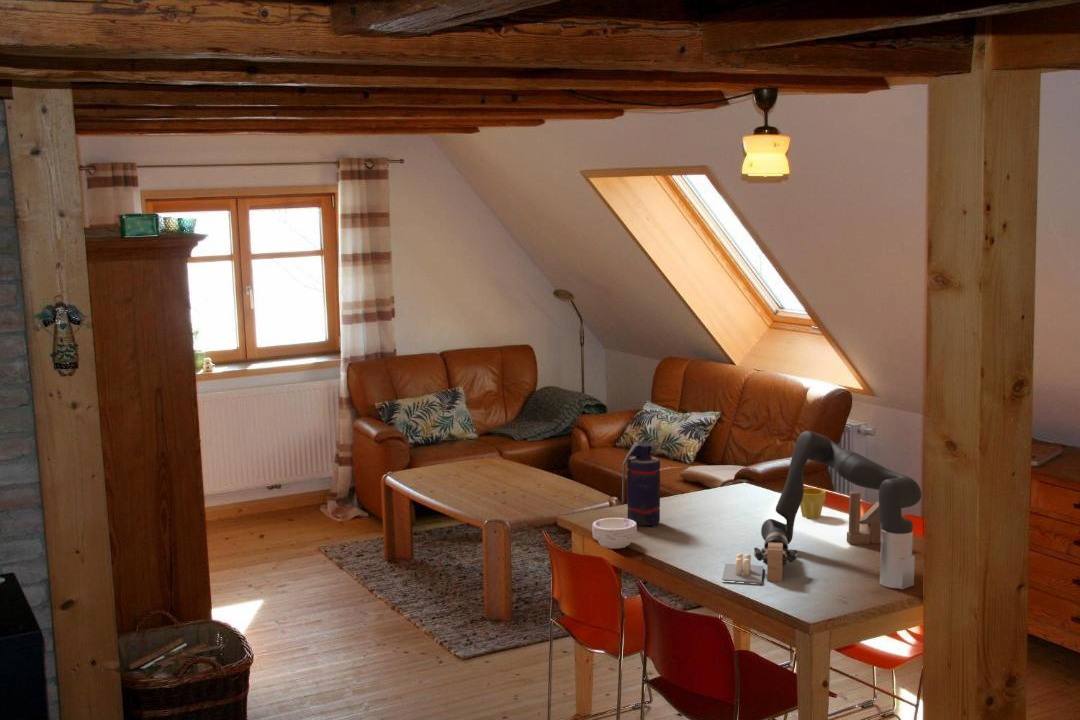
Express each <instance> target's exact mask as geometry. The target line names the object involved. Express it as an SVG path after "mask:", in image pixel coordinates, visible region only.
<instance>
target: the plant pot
mask: <svg viewBox="0 0 1080 720" xmlns="http://www.w3.org/2000/svg"><path fill="white" fill-rule="evenodd" d="M826 496H827V495H826V490H824V489H822V488H816V487H804V494H803V499H802V502H801V504H800V506H799V509H800V512H801V516H802V517H803V518H805V517H806V518H805V519H811V518H814V519H819V518H820V517H821V514H822V510H823V506H824V502H825V501H826Z"/></svg>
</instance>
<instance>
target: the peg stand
mask: <svg viewBox="0 0 1080 720" xmlns="http://www.w3.org/2000/svg"><path fill="white" fill-rule="evenodd" d="M751 559H752V558H751V554H749V553H745V554H743V553H736V557H735V563H724V567H723V568H724V569H723V573H722V578H721V581H722V580H724V581H735V582H744V583H756V584H761V585H762V584H763V583H762V581H763V574H764V565H755V564H751Z"/></svg>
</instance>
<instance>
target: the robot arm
mask: <svg viewBox="0 0 1080 720" xmlns="http://www.w3.org/2000/svg"><path fill="white" fill-rule="evenodd" d="M808 460H809V461H811V462H816V463H819V464H823V465H824V466H825V465H826V466H827V467H830V468H833V469H834V470H835V471H836V473H837V474H838V475H839V476H840V477H841V478H842V479H844V480H845V481H847V482H849V483H851V484H854V485H855V486H859V487H860V488H861V487H862V488H865V489H866V488H867V489H871V490H877V491H878V502H879V517H880V521H881V523H880V524H881V531H880V555H879V584H880V585H881V586H883V587H886V588H890V589H898V590H904V589H907V588H908V589H909V588H911V587H914V585H915V565H916V564H915V563H916V562H915V560H916V559H915V558H916V557H915V556H916V555H913V535H914V532H913V531H914V523H913V521H912V520H911V519H909V518H907V517H903V515H902V509H907V508H910V507H913V506H915V505H917V504H918V503H920V501H921V499H922V489H921V487H920V486H919V484H918V483H917V481H916V480H915V479H913V478H911V477H910V476H907V475H904V474H901V473H898V472H895V471H894V470H890V469H889V468H887V467H885V466H882V465H881V464H879V463H877V462H874V461H873V460H871V459H869V458H867V457H865V456H863V455H862V454H859V453H857V452H855V451H852V450H849V449H845V448H843V447H841V446H840V445H839V444H837V443H836V442H834V441H833V440H831V439H830V438H829V437H827V436H825V435H822V434H820V433H818V432H815V431H811V430H805V431H803V432H801V433H800V434H799V436H798V437H797V439H796V441H795V444H794V448H793V452H792V456H791V460H790V464H789V467H788V474H787V478H786V481H785V484H784V486H783V489H782V493H781V494H780V497H779V499H778V501H777V503H776V506H775V513H777V514H778V515H779V516H781V517H783V518H784V519H785V523H783V522H781V521H779V520H776V519H773V518H768V519H766V520H765V521H764V522H763V523H762V525H761V529H760V532H761V533H760V534H761V537H762V539H763V540H764V546H763V548H762V549H760V548H758V547H754V548H753V555H754V557H755V559H756V560H757V561H759V562H760V561H762V562H763V564H765V565H767V557H768V542H773V543H783V556H782V566H783V567H784V566H785V565H787V564H788V562H789V563H790V564H791V563H793V562H795V561H796V560H797V559H798V550H797V549H794V550H791V551H790V550H789V544H790V543H791V541H792V539H793V538H794V537H793V536H794V526H795V520H796V516H797V513H798V511H799V509H800V504H801V502H802V499H803V494H804V488H805V487H804V486H805V485H804V471H805V467H806V465H807V463H808Z"/></svg>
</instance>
